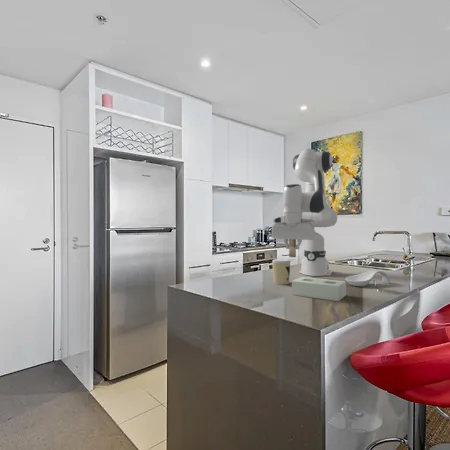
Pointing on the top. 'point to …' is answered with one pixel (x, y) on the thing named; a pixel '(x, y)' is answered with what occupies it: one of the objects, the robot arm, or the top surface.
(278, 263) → the coffee cup
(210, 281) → the top surface
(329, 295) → the hole block
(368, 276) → the spoon rest
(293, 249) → the peg
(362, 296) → the top surface
